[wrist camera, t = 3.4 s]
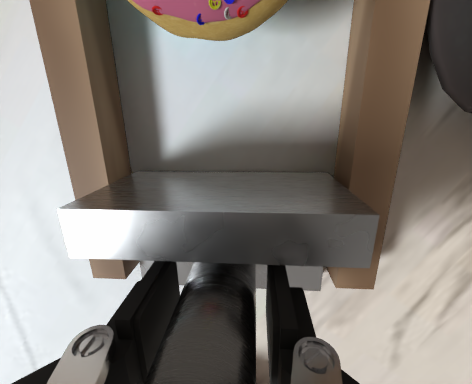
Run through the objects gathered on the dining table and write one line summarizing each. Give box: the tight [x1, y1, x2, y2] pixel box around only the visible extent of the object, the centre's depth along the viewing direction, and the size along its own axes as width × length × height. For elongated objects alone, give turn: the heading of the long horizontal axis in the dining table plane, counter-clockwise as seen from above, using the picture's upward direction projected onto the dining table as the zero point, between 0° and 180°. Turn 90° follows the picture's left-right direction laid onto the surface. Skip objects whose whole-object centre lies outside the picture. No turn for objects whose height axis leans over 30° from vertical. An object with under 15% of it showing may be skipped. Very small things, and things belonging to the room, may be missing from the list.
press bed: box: [30, 0, 430, 289], centre depth 9 cm, size 16×24×6 cm, turn 1°
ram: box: [57, 171, 380, 384], centre depth 10 cm, size 11×7×10 cm, turn 91°
